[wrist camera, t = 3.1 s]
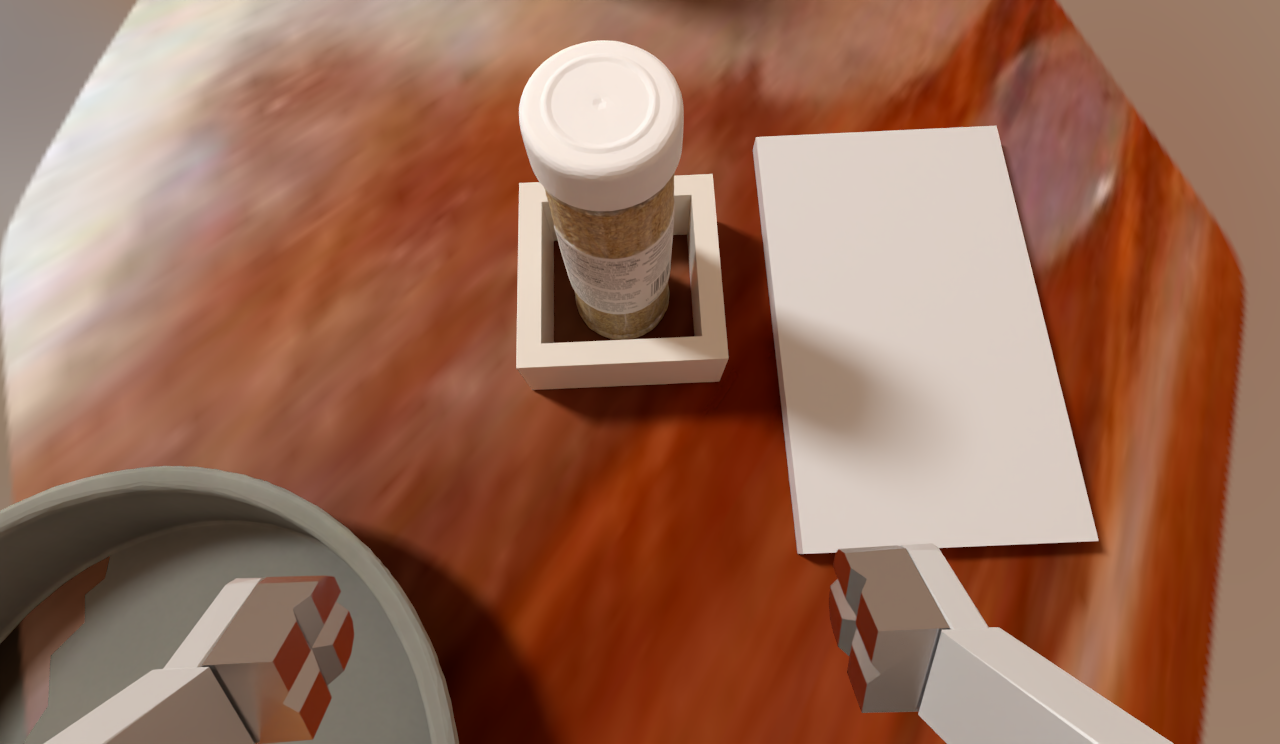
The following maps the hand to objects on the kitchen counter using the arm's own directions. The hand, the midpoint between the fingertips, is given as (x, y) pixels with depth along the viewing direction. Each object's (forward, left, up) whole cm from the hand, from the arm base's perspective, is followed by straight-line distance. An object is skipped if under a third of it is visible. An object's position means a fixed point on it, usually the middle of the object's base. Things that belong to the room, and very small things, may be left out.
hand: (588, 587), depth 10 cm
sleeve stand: (+12, 0, -16) cm, 20 cm away
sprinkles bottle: (+12, 0, -17) cm, 21 cm away
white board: (+10, -13, -16) cm, 23 cm away
